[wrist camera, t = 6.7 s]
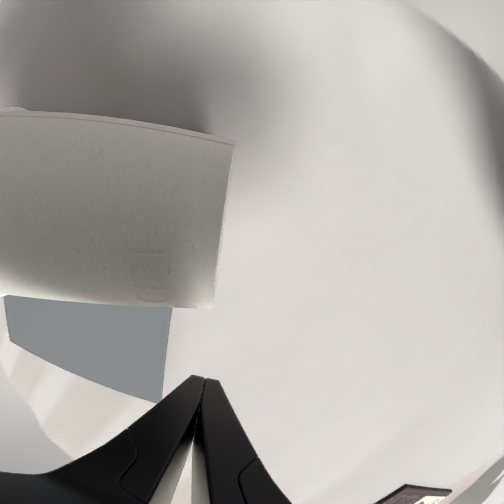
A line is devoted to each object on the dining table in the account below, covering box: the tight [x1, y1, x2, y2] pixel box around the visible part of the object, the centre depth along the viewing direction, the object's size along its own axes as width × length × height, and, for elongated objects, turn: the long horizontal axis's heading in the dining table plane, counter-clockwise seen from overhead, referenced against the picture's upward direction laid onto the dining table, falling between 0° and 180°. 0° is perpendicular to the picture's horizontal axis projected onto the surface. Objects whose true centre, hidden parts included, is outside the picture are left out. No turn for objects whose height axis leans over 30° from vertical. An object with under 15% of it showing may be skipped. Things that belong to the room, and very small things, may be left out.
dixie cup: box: [0, 106, 235, 308], centre depth 9 cm, size 8×8×10 cm
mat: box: [4, 295, 172, 404], centre depth 14 cm, size 13×16×1 cm
